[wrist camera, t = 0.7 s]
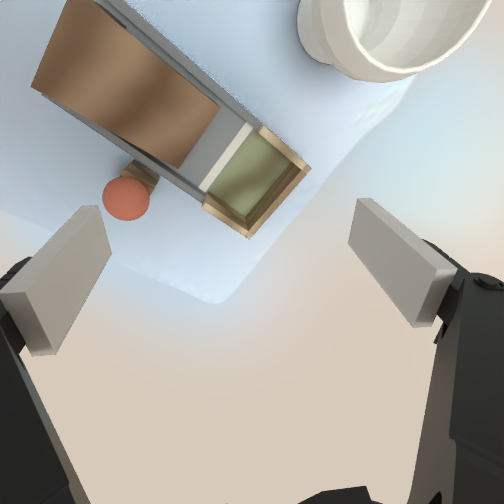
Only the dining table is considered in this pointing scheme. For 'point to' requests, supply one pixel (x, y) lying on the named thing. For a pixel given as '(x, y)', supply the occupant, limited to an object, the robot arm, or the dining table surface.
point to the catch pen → (255, 182)
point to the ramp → (122, 84)
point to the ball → (125, 198)
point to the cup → (385, 34)
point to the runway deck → (216, 134)
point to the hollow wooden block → (141, 175)
